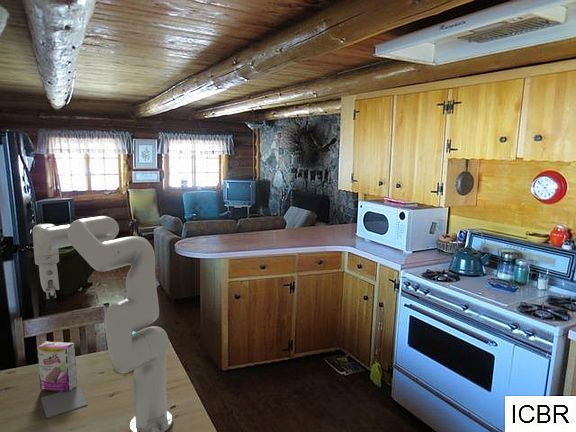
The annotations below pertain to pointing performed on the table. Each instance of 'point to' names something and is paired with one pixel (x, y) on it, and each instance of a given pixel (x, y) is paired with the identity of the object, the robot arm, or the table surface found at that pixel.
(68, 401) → the rubber mat
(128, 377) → the table surface
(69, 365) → the candy bar box
